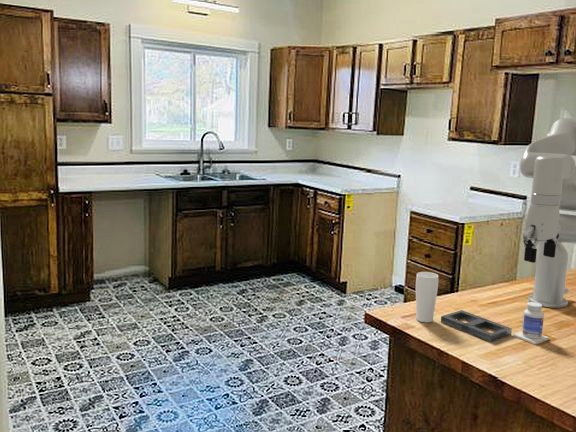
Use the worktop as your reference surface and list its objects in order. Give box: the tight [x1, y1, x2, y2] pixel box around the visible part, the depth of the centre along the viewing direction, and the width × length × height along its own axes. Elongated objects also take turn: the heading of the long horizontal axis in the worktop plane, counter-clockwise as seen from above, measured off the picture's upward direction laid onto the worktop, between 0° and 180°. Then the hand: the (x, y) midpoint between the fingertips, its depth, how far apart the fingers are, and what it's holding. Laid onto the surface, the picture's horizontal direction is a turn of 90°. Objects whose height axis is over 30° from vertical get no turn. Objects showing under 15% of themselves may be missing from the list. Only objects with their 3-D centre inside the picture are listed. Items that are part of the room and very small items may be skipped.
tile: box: [512, 330, 550, 346], centre depth 159 cm, size 7×7×1 cm
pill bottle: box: [521, 301, 545, 339], centre depth 158 cm, size 5×5×10 cm
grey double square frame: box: [440, 309, 513, 343], centre depth 165 cm, size 10×18×2 cm, turn 35°
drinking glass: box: [415, 271, 439, 323], centre depth 170 cm, size 7×7×15 cm
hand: (539, 258), depth 155 cm, fingers open, 9 cm apart
